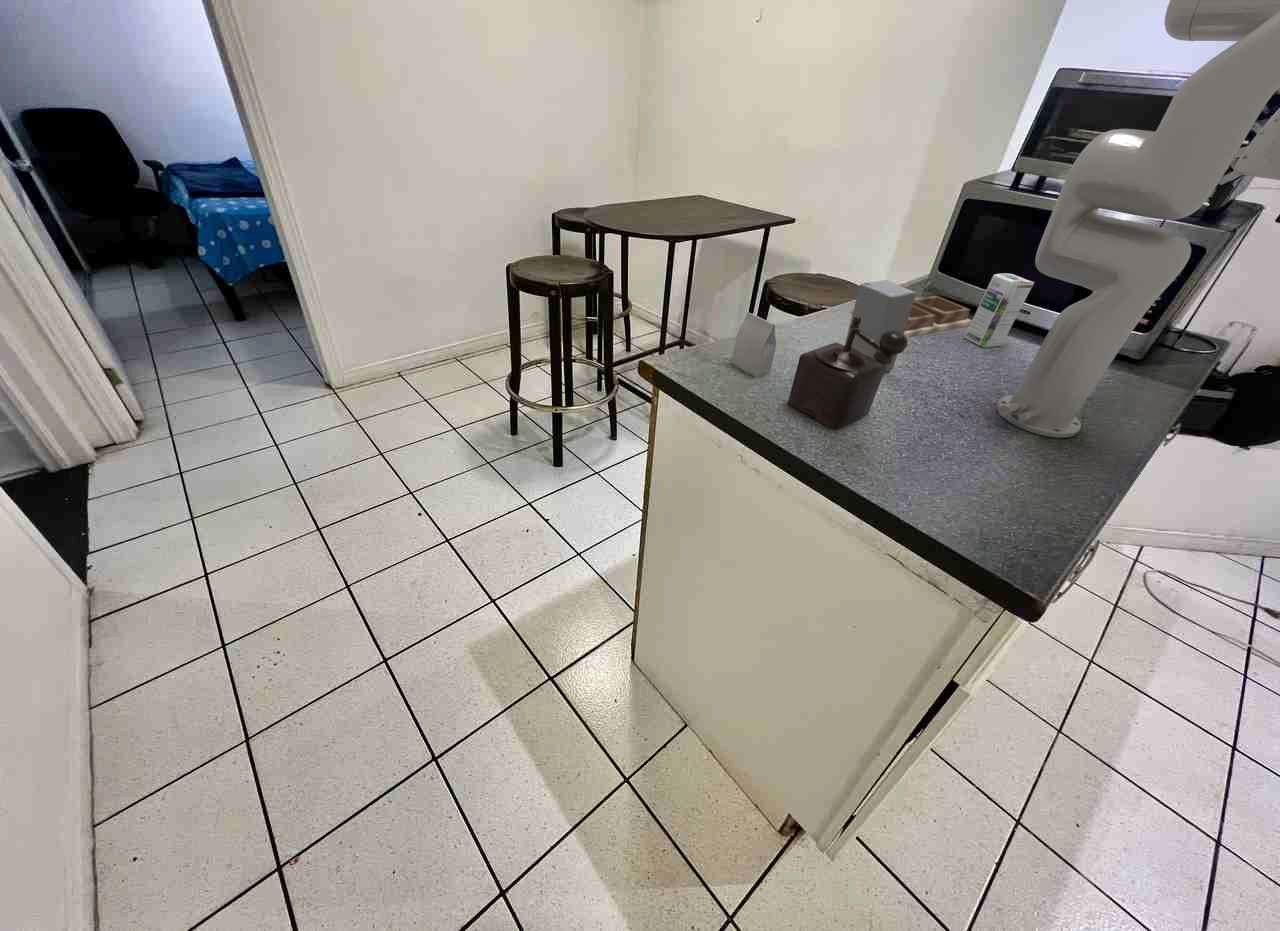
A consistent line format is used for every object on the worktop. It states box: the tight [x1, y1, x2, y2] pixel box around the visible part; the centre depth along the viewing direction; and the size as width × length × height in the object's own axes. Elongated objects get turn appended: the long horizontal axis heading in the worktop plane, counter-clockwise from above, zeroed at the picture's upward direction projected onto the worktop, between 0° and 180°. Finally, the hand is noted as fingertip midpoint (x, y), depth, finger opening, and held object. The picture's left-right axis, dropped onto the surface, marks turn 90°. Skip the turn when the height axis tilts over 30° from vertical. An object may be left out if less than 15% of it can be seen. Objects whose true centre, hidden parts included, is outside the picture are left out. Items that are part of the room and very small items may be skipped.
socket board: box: [850, 295, 973, 338], centre depth 127 cm, size 24×16×4 cm, turn 117°
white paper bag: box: [731, 311, 777, 378], centre depth 98 cm, size 4×7×10 cm, turn 35°
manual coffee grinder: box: [786, 316, 909, 430], centre depth 84 cm, size 16×11×18 cm
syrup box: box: [964, 272, 1035, 348], centre depth 114 cm, size 6×6×14 cm
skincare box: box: [844, 279, 918, 373], centre depth 101 cm, size 8×7×16 cm
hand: (1245, 215), depth 92 cm, fingers open, 9 cm apart
